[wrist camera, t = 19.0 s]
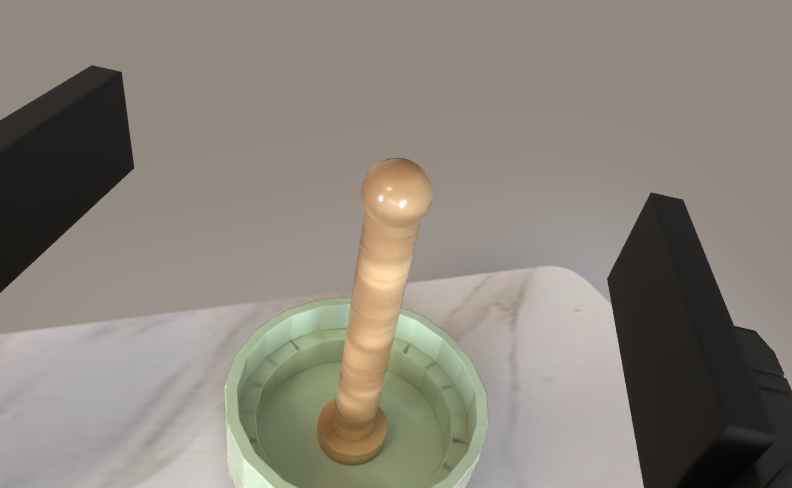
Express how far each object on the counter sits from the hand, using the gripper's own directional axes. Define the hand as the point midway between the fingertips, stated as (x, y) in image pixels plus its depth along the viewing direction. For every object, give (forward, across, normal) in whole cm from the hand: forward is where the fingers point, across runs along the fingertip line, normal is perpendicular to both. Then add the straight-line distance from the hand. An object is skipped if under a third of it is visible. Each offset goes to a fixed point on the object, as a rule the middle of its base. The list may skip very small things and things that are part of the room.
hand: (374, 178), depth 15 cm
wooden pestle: (+10, 0, -25) cm, 27 cm away
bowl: (+10, 0, -26) cm, 28 cm away
